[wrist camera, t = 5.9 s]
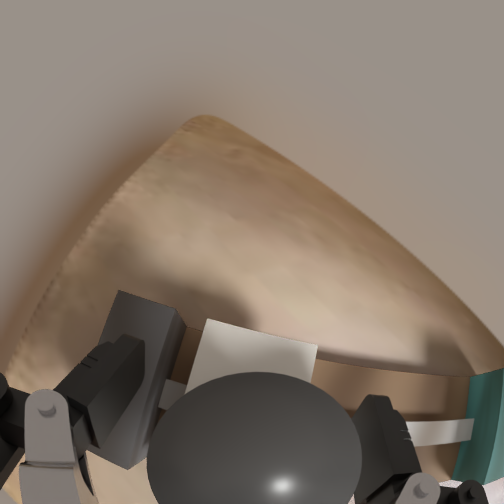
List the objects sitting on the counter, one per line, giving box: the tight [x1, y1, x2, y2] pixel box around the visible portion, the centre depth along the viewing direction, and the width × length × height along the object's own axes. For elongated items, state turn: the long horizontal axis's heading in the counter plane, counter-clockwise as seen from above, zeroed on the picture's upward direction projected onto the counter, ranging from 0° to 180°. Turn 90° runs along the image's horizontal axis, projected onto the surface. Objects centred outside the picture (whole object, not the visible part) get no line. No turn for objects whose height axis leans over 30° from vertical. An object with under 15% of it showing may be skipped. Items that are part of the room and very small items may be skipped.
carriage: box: [147, 318, 362, 504], centre depth 7 cm, size 5×8×10 cm, turn 166°
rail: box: [87, 290, 504, 485], centre depth 12 cm, size 26×8×5 cm, turn 76°
